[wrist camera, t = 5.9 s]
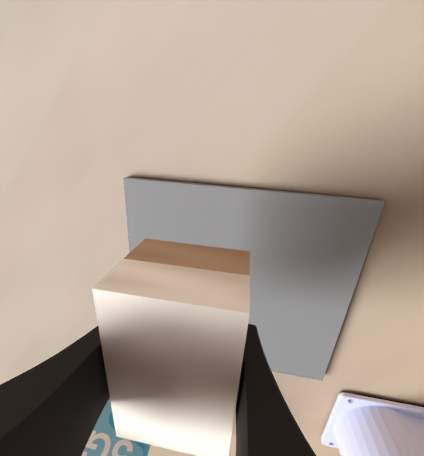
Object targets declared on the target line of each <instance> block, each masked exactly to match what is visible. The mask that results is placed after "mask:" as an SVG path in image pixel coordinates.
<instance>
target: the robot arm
mask: <svg viewBox="0 0 424 456" xmlns="http://www.w3.org/2000/svg"><path fill="white" fill-rule="evenodd" d="M109 398H110V395H109V389H108V383H107V376H106V370H105V364H104V358H103V352H102V346H101V340H100V334H99V327H98V326H97V327H96V328H94V329H93V330H92V331H90V332H89V333H87V334H86V335H85V336H83V337H82V338H80V339H79V340H77V341H76V342H74V343H73V344H71V345H70V346H68V347H67V348H65V349H64V350H62V351H61V352H59V353H58V354H56V355H54V356H53V357H51V358H49V359H48V360H46V361H44V362H42V363H41V364H39V365H37V366H35V367H34V368H32V369H30V370H28V371H26V372H24V373H22V374H20V375H19V376H17V377H15V378H13V379H11V380H9V381H7V382H5V383H3V384H1V385H0V456H82V453H83V451H84V449H85V447H86V444H87V442H88V440H89V438H90V436H91V433H92V431H93V429H94V427H95V425H96V423H97V420H98V418H99V417H100V415H101V413H102V411H103V409H104V407H105V405H106V403H107V402H108V400H109ZM321 441H322V444H324V445H326V446H330V447H335V448H339V451H340V455H341V456H424V407H420V406H414V405H409V404H404V403H398V402H393V401H387V400H382V399H377V398H371V397H366V396H361V395H355V394H350V393H344V392H343V393H340V394H339V395H338V397H337V400H336V402H335V405H334V407H333V410H332V412H331V415H330V417H329V420H328V422H327V425H326V427H325V430H324V432H323V435H322V437H321ZM236 456H316V455H315V453H314V451H313V450H312V448H311V447H310V445H309V443H308V442H307V440H306V439H305V437H304V435H303V433H302V432H301V430H300V428H299V426H298V425H297V423H296V421H295V419H294V417H293V415H292V414H291V412H290V410H289V408H288V406H287V404H286V402H285V400H284V398H283V396H282V394H281V392H280V390H279V387H278V385H277V383H276V381H275V379H274V376H273V374H272V372H271V369H270V367H269V364H268V362H267V359H266V356H265V354H264V351H263V348H262V345H261V342H260V338H259V335H258V331H257V327H256V326H255V325H252V324H248V328H247V335H246V342H245V348H244V355H243V361H242V368H241V375H240V381H239V388H238V394H237V401H236Z"/></svg>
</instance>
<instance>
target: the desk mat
mask: <svg viewBox="0 0 424 456" xmlns="http://www.w3.org/2000/svg"><path fill="white" fill-rule="evenodd" d="M124 189H125V201H126V213H127V226H128V238H129V250H130V252H131V251H132V250H133V249H134V248H135V247H136V246H138V245H139V244H140V243H141V242H142V241H143V240H144V239H145V238H146V239H154V240H162V241H170V242H178V243H186V244H195V245H203V246H211V247H219V248H227V249H235V250H243V251H250V315H249V322H248V324H252V325H255V326H256V327H257V331H258V335H259V338H260V342H261V345H262V348H263V351H264V354H265V356H266V359H267V362H268V364H269V367H270V369H271V371H273V372H278V373H284V374H289V375H295V376H300V377H306V378H311V379H317V380H322V381H323V378H324V375H325V372H326V369H327V367H328V364H329V361H330V358H331V355H332V352H333V349H334V347H335V344H336V341H337V338H338V335H339V332H340V330H341V327H342V324H343V321H344V318H345V315H346V312H347V310H348V307H349V304H350V301H351V298H352V295H353V292H354V290H355V287H356V284H357V281H358V278H359V275H360V273H361V270H362V267H363V264H364V261H365V258H366V255H367V253H368V250H369V247H370V244H371V241H372V238H373V235H374V233H375V230H376V227H377V224H378V221H379V218H380V216H381V213H382V210H383V207H384V204H385V202H384V201H382V200H377V199H366V198H355V197H344V196H333V195H322V194H311V193H300V192H289V191H278V190H267V189H256V188H245V187H234V186H223V185H212V184H200V183H189V182H178V181H167V180H156V179H145V178H134V177H126V178H124Z"/></svg>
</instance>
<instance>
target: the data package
mask: <svg viewBox="0 0 424 456" xmlns="http://www.w3.org/2000/svg"><path fill="white" fill-rule="evenodd" d="M149 448H150V444H146V443H142V442H137V441H133V440H129V439H125V438H121V437H116V432H115V425H114V419H113V413H112V407H111V401H110V398H109V400H108V402H107V403H106V405H105V407H104V409H103V411H102V413H101V415H100V417H99V418H98V420H97V423H96V425H95V427H94V429H93V431H92V433H91V436H90V438H89V440H88V442H87V444H86V447H85V449H84V451H83V453H82V456H147V454H148V451H149Z"/></svg>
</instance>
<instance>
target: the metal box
mask: <svg viewBox="0 0 424 456" xmlns="http://www.w3.org/2000/svg"><path fill="white" fill-rule="evenodd" d="M92 291H93V297H94V303H95V309H96V315H97V321H98V327H99V334H100V340H101V346H102V352H103V358H104V364H105V370H106V376H107V383H108V389H109V395H110V401H111V407H112V413H113V419H114V425H115V432H116V437H121V438H125V439H129V440H133V441H137V442H142V443H146V444H150V445H154V446H159V447H163V448H167V449H171V450H175V451H180V452H184V453H188V454H192V455H197V456H228V454H229V447H230V441H231V434H232V428H233V421H234V414H235V408H236V401H237V394H238V388H239V381H240V375H241V368H242V361H243V355H244V348H245V342H246V335H247V328H248V322H249V315H250V251H243V250H235V249H227V248H219V247H211V246H203V245H195V244H186V243H178V242H170V241H162V240H154V239H146V238H145V239H144V240H143V241H142V242H141V243H140V244H139V245H138V246H136V247H135V248H134V249H133V250H132V251H131V252H130V253H129V254H128V255H127V256H126V257H125V258H124V259H123V260H122V261H121V262H120V263H119V264H118V265H117V266H116V267H115V268H113V269H112V270H111V271H110V272H109V273H108V274H107V275H106V276H105V277H104V278H103V279H102V280H101V281H100V282H99V283H98V284H97V285H96V286H95V287H94V288H93V289H92Z"/></svg>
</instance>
